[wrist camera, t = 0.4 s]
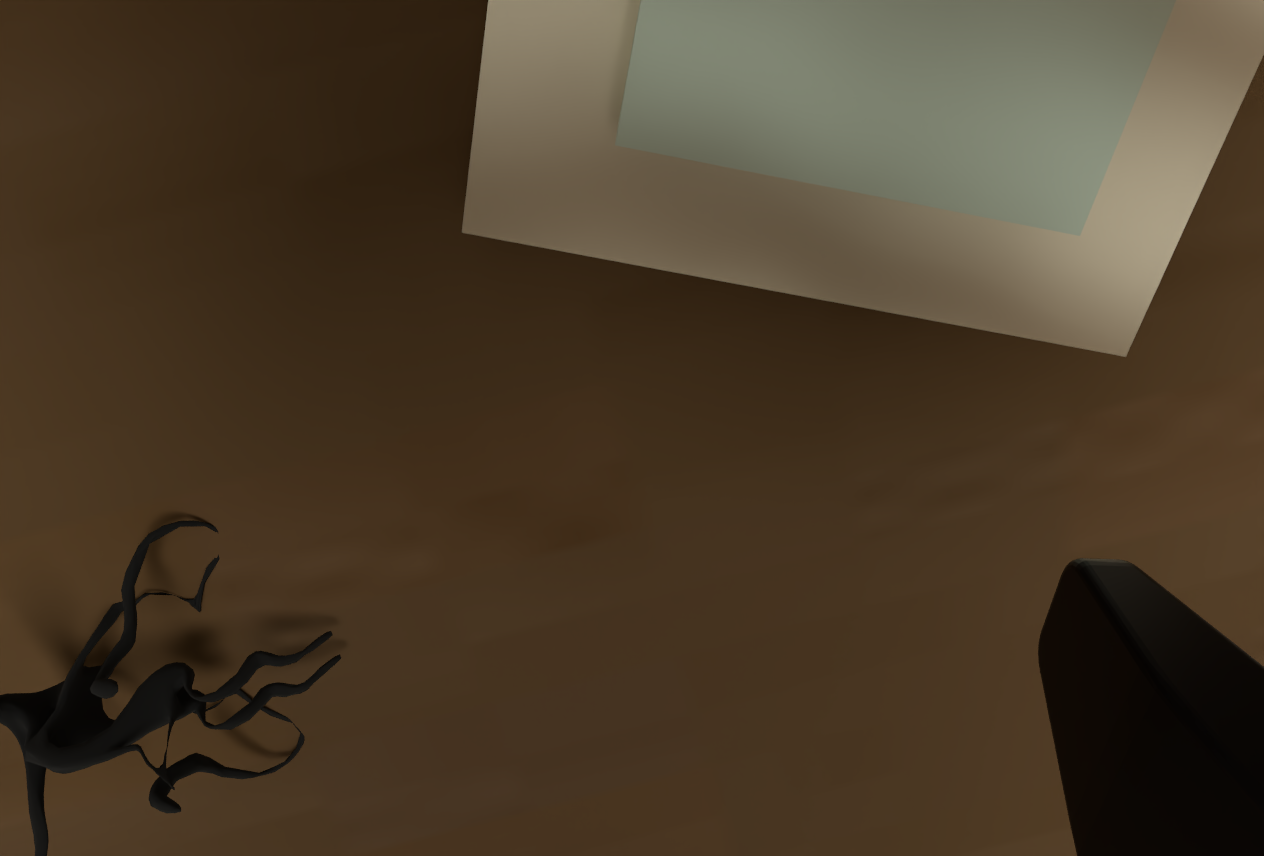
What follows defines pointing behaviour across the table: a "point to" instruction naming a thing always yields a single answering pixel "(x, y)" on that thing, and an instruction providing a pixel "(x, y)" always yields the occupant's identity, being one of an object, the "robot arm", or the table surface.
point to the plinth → (839, 227)
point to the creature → (132, 707)
